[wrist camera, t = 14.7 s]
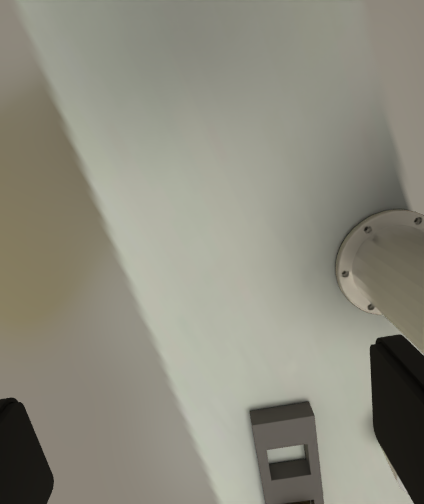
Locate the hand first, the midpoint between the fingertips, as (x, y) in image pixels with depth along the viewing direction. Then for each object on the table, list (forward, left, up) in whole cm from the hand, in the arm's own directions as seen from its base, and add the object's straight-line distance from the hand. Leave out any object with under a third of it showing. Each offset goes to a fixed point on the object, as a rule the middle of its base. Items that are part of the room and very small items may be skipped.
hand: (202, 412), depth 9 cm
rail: (-5, +40, -30) cm, 50 cm away
